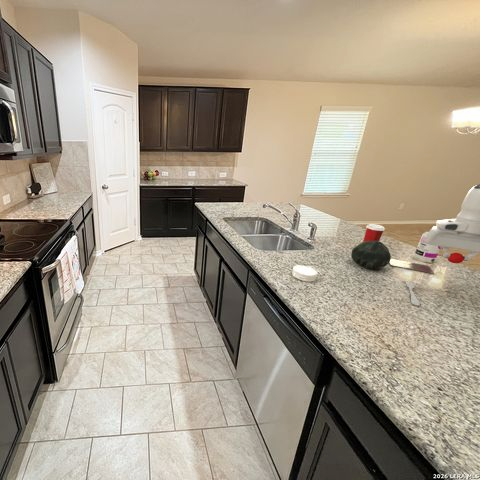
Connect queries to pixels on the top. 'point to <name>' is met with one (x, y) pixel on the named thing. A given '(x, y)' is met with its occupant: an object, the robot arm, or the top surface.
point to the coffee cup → (373, 232)
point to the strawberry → (456, 258)
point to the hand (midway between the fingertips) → (454, 259)
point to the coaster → (304, 273)
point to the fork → (412, 294)
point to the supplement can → (426, 250)
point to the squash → (371, 254)
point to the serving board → (410, 266)
